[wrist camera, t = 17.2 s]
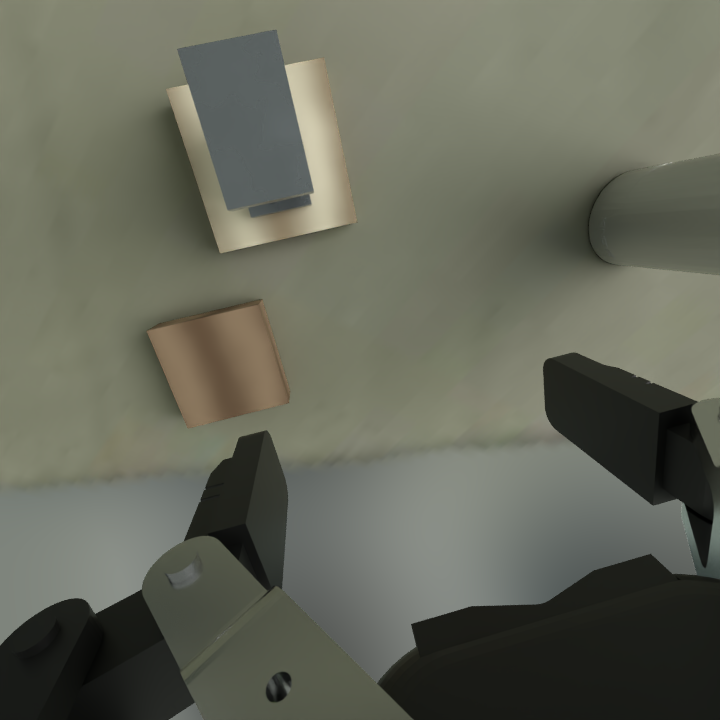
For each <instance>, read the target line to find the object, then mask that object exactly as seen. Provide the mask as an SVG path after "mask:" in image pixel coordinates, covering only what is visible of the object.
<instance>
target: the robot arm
mask: <svg viewBox="0 0 720 720" xmlns="http://www.w3.org/2000/svg"><path fill="white" fill-rule="evenodd" d="M589 236H590V241H591V244H592V247H593V249H594V250H595V252H596V253H597V255H598V256H599V257H600V258H602V259H603V260H604V261H606V262H608V263H611V264H615V265H623V266H634V267H644V268H652V269H662V270H672V271H683V272H693V273H703V274H713V275H720V154H715V155H710V156H705V157H699V158H694V159H689V160H684V161H679V162H674V163H668V164H663V165H657V166H652V167H647V168H642V169H637V170H633V171H629V172H626V173H624V174H622V175H620V176H618V177H616V178H615V179H614V180H613V181H611V182H610V183H609V184H608V185H607V186H606V187H605V188H604V190H603V191H602V192H601V193H600V195H599V197H598V198H597V200H596V202H595V204H594V206H593V209H592V211H591V216H590V220H589ZM543 375H544V396H545V411H546V415H547V417H548V420H549V422H550V423H551V425H552V426H553V427H554V428H555V429H556V430H557V431H558V432H559V433H561V434H562V435H563V436H565V437H566V438H567V439H568V440H570V441H571V442H572V443H574V444H575V445H576V446H577V447H579V448H580V449H581V450H582V451H584V452H585V453H586V454H588V455H589V456H590V457H591V458H593V459H594V460H595V461H597V462H598V463H599V464H600V465H602V466H603V467H604V468H605V469H607V470H608V471H609V472H611V473H612V474H613V475H615V476H616V477H617V478H618V479H620V480H621V481H622V482H623V483H625V484H626V485H627V486H629V487H630V488H631V489H632V490H634V491H635V492H636V493H638V494H639V495H640V496H641V497H643V498H644V499H645V500H647V501H648V502H649V503H650V504H652V505H657V504H661V503H664V502H667V501H671V500H675V499H679V500H680V501H682V508H681V517H682V521H683V525H684V529H685V533H686V536H687V540H688V544H689V548H690V552H691V556H692V559H693V563H694V567H695V571H696V575H685V574H672V573H671V572H669V571H668V570H667V569H666V568H665V567H664V566H663V565H662V564H661V563H660V562H659V561H658V560H657V559H656V558H654V557H653V556H652V555H651V554H649V555H646V556H642V557H638V558H635V559H632V560H628V561H625V562H622V563H618V564H615V565H611V566H608V567H604V568H601V569H598V570H594V571H592V572H591V573H589V574H588V575H586V576H585V577H584V578H582V579H580V580H579V581H578V582H576V583H575V584H573V585H572V586H570V587H569V588H567V589H566V590H564V591H563V592H561V593H560V594H558V595H557V596H555V597H554V598H552V599H551V600H549V601H547V602H546V603H543V604H537V605H505V606H504V605H503V606H471V607H468V608H464V609H461V610H458V611H454V612H451V613H447V614H444V615H441V616H438V617H434V618H430V619H427V620H424V621H421V622H417V623H413V624H411V625H412V630H413V634H414V638H415V642H416V647H415V648H414V649H413V650H411V651H410V652H408V653H407V654H405V655H404V656H403V657H402V658H401V659H400V660H398V661H397V662H396V663H395V664H394V665H393V666H391V668H390V669H389V670H388V671H387V672H386V673H385V674H384V675H383V676H382V678H381V679H380V680H379V682H378V683H376V682H375V681H374V680H373V679H372V678H371V677H370V676H369V675H368V674H367V673H366V672H365V671H364V670H363V669H362V668H361V667H360V666H359V665H358V664H357V663H356V662H354V660H353V659H352V658H350V656H349V655H348V654H347V653H346V652H345V651H344V650H343V649H342V648H341V647H339V645H338V644H336V643H335V642H334V641H333V640H332V639H331V638H330V637H329V636H328V635H327V634H326V633H325V632H324V631H323V630H322V629H321V628H320V627H319V626H318V625H317V624H316V623H315V622H314V621H313V620H312V619H311V618H310V617H309V616H308V615H307V614H306V613H305V612H304V611H303V610H302V609H301V608H300V607H299V606H298V605H297V604H296V603H295V602H294V601H293V600H292V599H291V598H290V597H289V596H288V595H287V594H286V593H285V592H284V591H283V590H282V581H283V566H284V552H285V537H286V523H287V507H288V492H287V485H286V480H285V477H284V474H283V471H282V468H281V465H280V462H279V459H278V456H277V453H276V450H275V447H274V444H273V441H272V438H271V436H270V434H269V432H268V431H267V430H266V431H262V432H258V433H254V434H250V435H246V436H242V437H240V438H239V439H238V442H237V445H236V448H235V451H234V454H233V457H232V458H229V459H225V460H223V461H222V462H221V463H220V464H219V465H218V466H217V467H216V469H215V470H214V471H213V472H212V473H211V474H210V477H209V479H208V482H207V484H206V487H205V488H206V490H204V492H203V495H202V497H201V502H200V503H199V505H198V507H197V510H196V512H195V515H194V517H193V520H192V522H191V525H190V527H189V530H188V532H187V535H186V537H185V540H184V542H182V543H180V544H178V545H176V546H175V547H173V548H172V549H170V550H169V551H167V552H166V553H165V554H164V555H162V556H161V557H160V558H159V559H158V560H157V561H156V562H155V564H153V566H152V567H151V568H150V570H149V571H148V573H147V575H146V577H145V579H144V581H143V585H142V590H140V591H138V592H136V593H135V594H133V595H131V596H129V597H127V598H125V599H123V600H121V601H119V602H117V603H115V604H114V605H112V606H110V607H108V608H106V609H104V610H102V611H100V612H98V613H96V614H95V613H94V612H93V610H92V609H91V607H90V605H89V604H88V603H87V602H86V601H85V600H83V599H78V598H75V599H68V600H64V601H61V602H59V603H56V604H54V605H52V606H50V607H48V608H46V609H44V610H42V611H41V612H39V613H38V614H36V615H34V616H33V617H32V618H30V619H29V620H27V621H26V622H25V623H23V624H22V625H21V626H20V627H19V628H18V629H16V630H15V631H14V632H13V633H12V634H11V635H10V636H9V637H8V638H7V639H6V640H5V641H4V642H3V643H2V644H1V645H0V720H169V719H170V718H172V717H173V716H175V715H176V714H178V713H179V712H181V711H182V710H184V709H186V708H187V707H189V706H190V705H191V704H193V703H196V705H197V707H198V709H199V711H200V713H201V715H202V717H203V719H204V720H720V398H713V399H706V400H702V401H700V402H697V401H695V400H692V399H690V398H688V397H685V396H683V395H681V394H678V393H676V392H674V391H671V390H669V389H667V388H664V387H662V386H659V385H657V384H655V383H652V384H651V383H650V381H648V380H645V379H643V378H641V377H636V375H634V374H631V373H629V372H627V371H624V370H622V369H620V368H616V367H611V366H606V365H603V364H601V363H598V362H596V361H594V360H591V359H589V358H587V357H585V356H582V355H580V354H578V353H569V354H565V355H561V356H557V357H553V358H549V359H547V360H546V361H545V362H544V366H543Z"/></svg>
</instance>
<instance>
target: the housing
mask: <svg viewBox="0 0 720 720" xmlns="http://www.w3.org/2000/svg"><path fill="white" fill-rule="evenodd" d="M177 50H178V53H179V57H180V60H181V63H182V66H183V69H184V73H185V76H186V79H187V82H188V85H189V89H190V92H191V95H192V98H193V101H194V105H195V108H196V111H197V114H198V117H199V121H200V124H201V127H202V130H203V133H204V137H205V140H206V143H207V146H208V149H209V153H210V156H211V159H212V162H213V166H214V169H215V172H216V175H217V178H218V182H219V185H220V188H221V191H222V194H223V198H224V201H225V204H226V207H227V210H228V211H231V212H232V211H236V210H241V209H245V208H248V209H249V212H250V216H251V218H256V217H260V216H265V215H269V214H274V213H278V212H283V211H287V210H292V209H296V208H301V207H305V206H309V205H312V203H311V199H310V195H309V194H313V193H314V189H313V185H312V180H311V176H310V172H309V168H308V163H307V159H306V155H305V151H304V146H303V142H302V138H301V134H300V129H299V125H298V121H297V116H296V112H295V108H294V104H293V99H292V95H291V91H290V87H289V82H288V78H287V74H286V70H285V65H284V61H283V57H282V53H281V48H280V44H279V40H278V35H277V31H276V30H272V31H267V32H261V33H256V34H251V35H246V36H241V37H236V38H231V39H226V40H220V41H215V42H210V43H205V44H200V45H195V46H190V47H185V48H180V49H177Z"/></svg>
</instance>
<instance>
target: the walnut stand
mask: <svg viewBox="0 0 720 720" xmlns="http://www.w3.org/2000/svg"><path fill="white" fill-rule="evenodd" d="M147 333H148V336H149V338H150V340H151V343H152V345H153V347H154V350H155V352H156V355H157V357H158V359H159V362H160V364H161V366H162V369H163V371H164V373H165V376H166V378H167V381H168V383H169V385H170V388H171V390H172V392H173V395H174V397H175V399H176V402H177V404H178V407H179V409H180V411H181V414H182V416H183V418H184V421H185V423H186V425H187V428H192V427H196V426H200V425H204V424H208V423H212V422H216V421H220V420H224V419H228V418H232V417H235V416H239V415H243V414H247V413H251V412H255V411H259V410H263V409H267V408H271V407H275V406H279V405H283V404H287V403H289V398H290V389H289V385H288V382H287V379H286V376H285V372H284V369H283V366H282V362H281V359H280V356H279V353H278V349H277V346H276V343H275V339H274V336H273V333H272V330H271V326H270V323H269V320H268V316H267V313H266V310H265V307H264V303H263V300H262V299H261V300H257V301H252V302H248V303H244V304H240V305H235V306H231V307H227V308H223V309H218V310H214V311H210V312H206V313H201V314H197V315H193V316H189V317H184V318H180V319H176V320H172V321H167V322H163V323H159V324H157V325H156V326H154V327H152V328H151V329H149V330H147Z"/></svg>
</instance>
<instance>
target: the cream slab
mask: <svg viewBox="0 0 720 720" xmlns="http://www.w3.org/2000/svg"><path fill="white" fill-rule="evenodd" d="M285 70H286V74H287V78H288V82H289V87H290V91H291V95H292V99H293V104H294V108H295V112H296V116H297V121H298V125H299V129H300V134H301V138H302V142H303V146H304V151H305V155H306V159H307V163H308V168H309V172H310V176H311V180H312V185H313V189H314V193H313V194H309V195H310V199H311V203H312V205H309V206H305V207H301V208H296V209H292V210H287V211H283V212H278V213H274V214H269V215H265V216H260V217H256V218H251V216H250V212H249V209H248V208H245V209H241V210H236V211H232V212H231V211H228V210H227V207H226V204H225V201H224V198H223V194H222V191H221V188H220V185H219V182H218V178H217V175H216V172H215V169H214V166H213V162H212V159H211V156H210V153H209V149H208V146H207V143H206V140H205V137H204V133H203V130H202V127H201V124H200V121H199V117H198V114H197V111H196V108H195V105H194V101H193V98H192V95H191V92H190V89H189V85H183V86H178V87H173V88H168V89H166V90H167V93H168V96H169V99H170V103H171V106H172V109H173V112H174V115H175V118H176V121H177V124H178V127H179V130H180V133H181V136H182V139H183V142H184V145H185V148H186V151H187V154H188V157H189V160H190V163H191V166H192V169H193V172H194V175H195V178H196V182H197V185H198V188H199V191H200V194H201V197H202V200H203V203H204V206H205V209H206V212H207V215H208V218H209V221H210V224H211V227H212V230H213V233H214V236H215V239H216V242H217V245H218V248H219V251H220V253H224V252H229V251H233V250H237V249H242V248H246V247H251V246H255V245H259V244H264V243H268V242H273V241H277V240H281V239H286V238H290V237H295V236H299V235H304V234H308V233H312V232H317V231H321V230H326V229H330V228H334V227H339V226H343V225H348V224H352V223H356V222H357V218H356V213H355V208H354V203H353V198H352V193H351V188H350V183H349V178H348V173H347V169H346V164H345V159H344V154H343V149H342V144H341V139H340V134H339V129H338V124H337V119H336V114H335V109H334V104H333V99H332V94H331V89H330V85H329V80H328V75H327V70H326V65H325V60H324V58H319V59H314V60H309V61H304V62H299V63H294V64H289V65H285Z"/></svg>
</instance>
